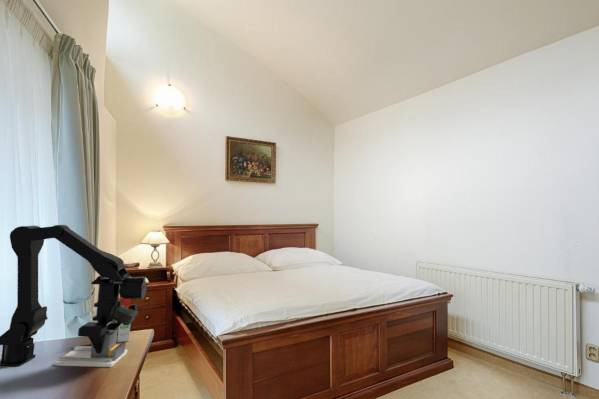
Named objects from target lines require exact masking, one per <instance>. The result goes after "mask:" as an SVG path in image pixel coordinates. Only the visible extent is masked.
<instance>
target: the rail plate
mask: <svg viewBox="0 0 599 399" xmlns="http://www.w3.org/2000/svg"><path fill="white" fill-rule="evenodd" d="M117 345H118V346H117V347H116V348H115V349H113V350H112V357H94V356H91V348H92V345H91V346H89V345H88V346H87V345H85V346H83V345H81V346H80V345H76V346H74V347H73V348H74V349H72V350H71V351H69V352H67V353H66V354H65V355H60V356H59V357H58V359H57V360H56V361H54V366H60V367H61V366H62V367H63V366H64V367H94V368H95V367H98V368H112V367H113V366H114V365H116V363H118V362H119V361H120V360H121V359H122V358H123V357H125V355H126V354H128V349H127V348H126V341H125V342H120V344H117Z"/></svg>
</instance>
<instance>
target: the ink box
mask: <svg viewBox="0 0 599 399" xmlns="http://www.w3.org/2000/svg"><path fill="white" fill-rule="evenodd" d="M119 300H121V301H122V306H124V307H126V306H128V307H129V306H131V300H132V299H123V297H119ZM130 332H131V323H130V324H129V325H124V324H123V323H122V324H121V325H120V326H119V327H118V328H117V339H116V344H117V343H122V342H125V343H126V342H129V341H130Z"/></svg>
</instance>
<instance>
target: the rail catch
mask: <svg viewBox="0 0 599 399" xmlns="http://www.w3.org/2000/svg"><path fill="white" fill-rule="evenodd" d="M118 345H119V344H116V345H115V346H114V347H112V348H111V349H110V350H109V353H108V357H112V350H113V349H115V348H116V347H117V346H118Z"/></svg>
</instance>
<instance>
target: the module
mask: <svg viewBox="0 0 599 399" xmlns="http://www.w3.org/2000/svg"><path fill="white" fill-rule="evenodd" d="M107 331H110V332H109V333H108V334H107V335H106V336H105V339H104V343H103V348H102V351H101V353H100V354H97V353H96V351H95V349H94V347H93V345H92V344H91V347H92V348H91V356H94V357H108V353H109V350H110V349H111V348H112V347H114V346H115V345H117V343H116V339H117V330H107Z"/></svg>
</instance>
